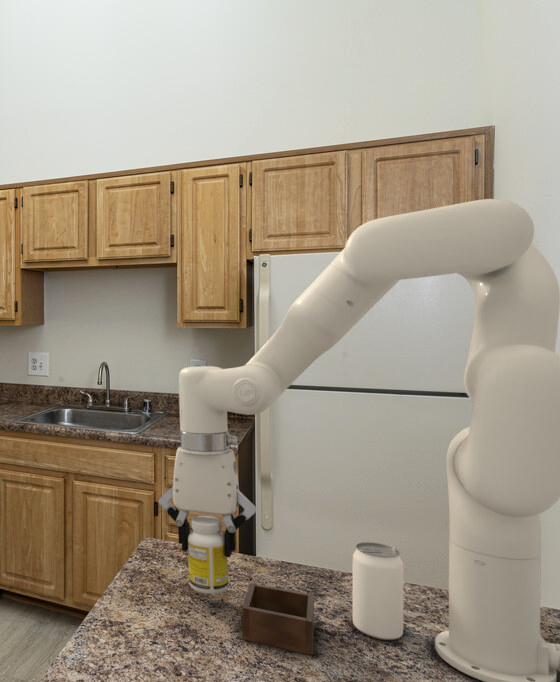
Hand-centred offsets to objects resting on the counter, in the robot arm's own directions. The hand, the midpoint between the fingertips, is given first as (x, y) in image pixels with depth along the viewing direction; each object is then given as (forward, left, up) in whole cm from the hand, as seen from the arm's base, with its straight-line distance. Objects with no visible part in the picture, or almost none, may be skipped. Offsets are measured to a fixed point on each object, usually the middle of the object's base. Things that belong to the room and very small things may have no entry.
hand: (207, 550), depth 92 cm
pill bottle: (0, 0, -6) cm, 6 cm away
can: (-24, -2, -9) cm, 26 cm away
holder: (-11, +5, -8) cm, 15 cm away
